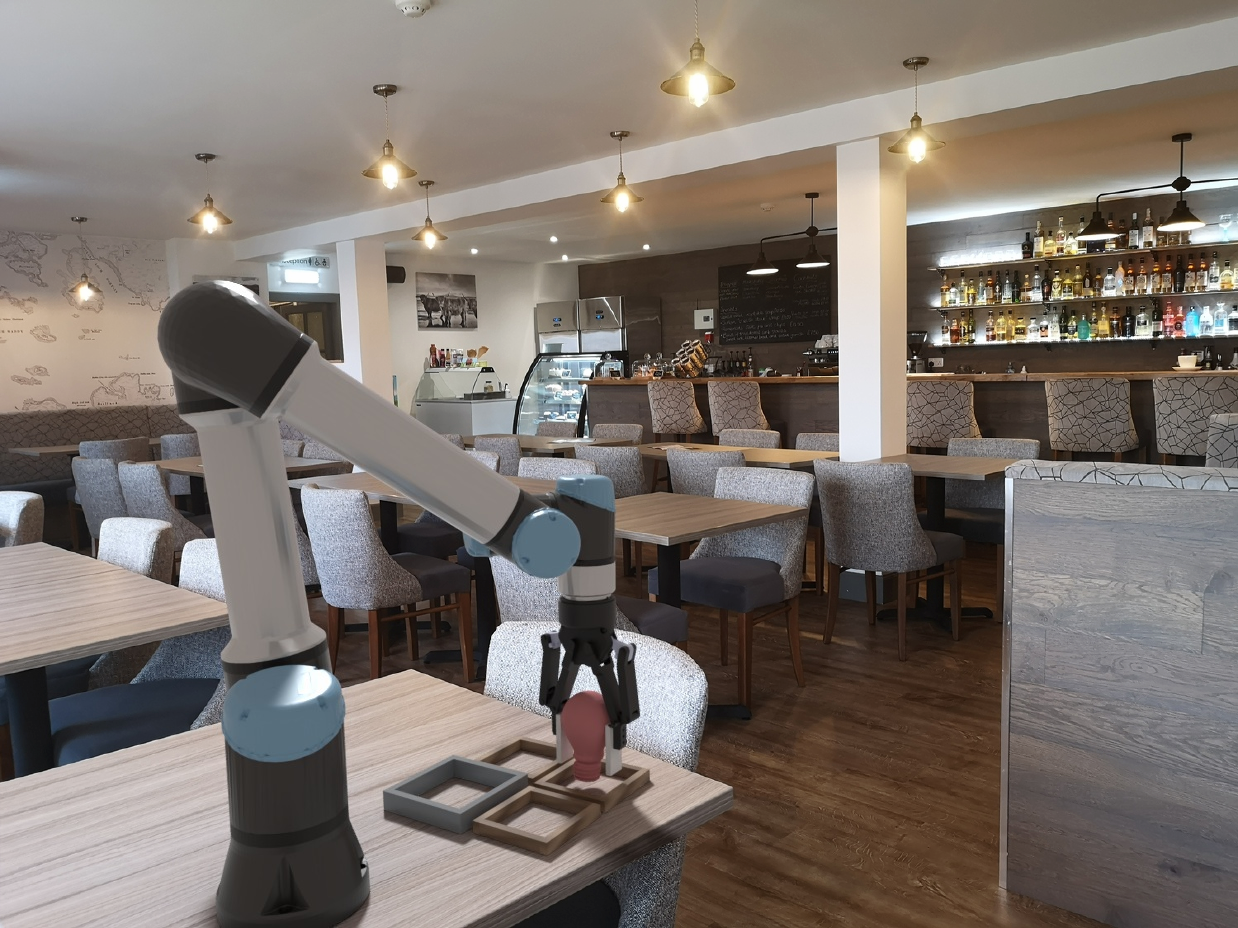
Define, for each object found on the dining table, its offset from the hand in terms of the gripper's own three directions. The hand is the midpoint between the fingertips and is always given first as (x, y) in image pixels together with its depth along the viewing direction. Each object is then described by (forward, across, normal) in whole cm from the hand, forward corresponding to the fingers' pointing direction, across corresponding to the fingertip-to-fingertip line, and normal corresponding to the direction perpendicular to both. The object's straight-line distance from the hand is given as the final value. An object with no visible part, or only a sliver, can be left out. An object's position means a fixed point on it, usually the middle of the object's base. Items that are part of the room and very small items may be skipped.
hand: (588, 765), depth 122 cm
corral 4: (+3, 0, 0) cm, 3 cm away
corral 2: (+3, +12, -1) cm, 12 cm away
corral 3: (+3, 0, +12) cm, 12 cm away
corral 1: (+3, +13, +12) cm, 18 cm away
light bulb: (+2, 0, 0) cm, 2 cm away
